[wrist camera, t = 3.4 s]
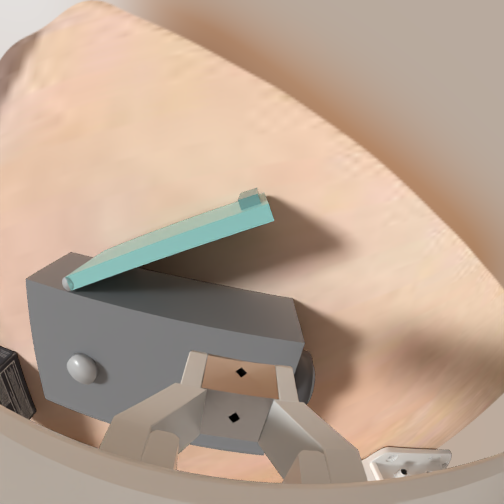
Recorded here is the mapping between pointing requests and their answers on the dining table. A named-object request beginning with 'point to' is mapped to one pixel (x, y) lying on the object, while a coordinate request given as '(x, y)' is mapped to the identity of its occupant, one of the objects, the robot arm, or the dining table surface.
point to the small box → (14, 385)
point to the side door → (174, 239)
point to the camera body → (152, 337)
